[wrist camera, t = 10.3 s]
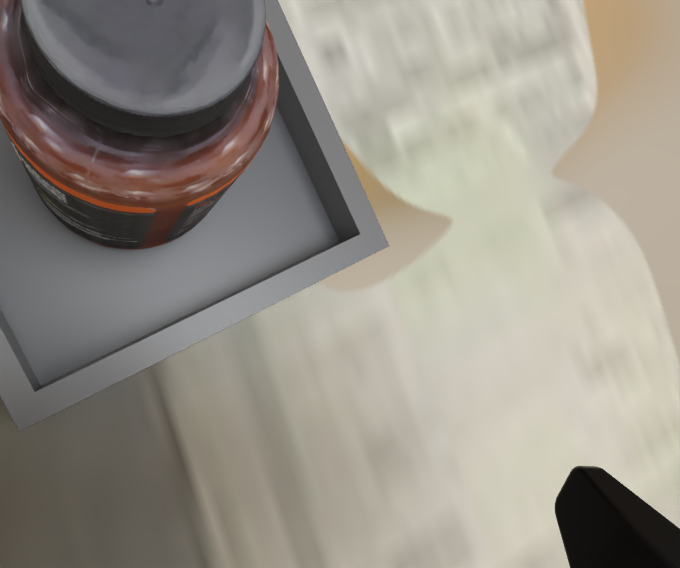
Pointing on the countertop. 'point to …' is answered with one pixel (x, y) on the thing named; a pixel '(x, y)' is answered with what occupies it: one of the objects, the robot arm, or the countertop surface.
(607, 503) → the robot arm
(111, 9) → the supplement bottle
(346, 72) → the countertop surface
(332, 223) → the bin
